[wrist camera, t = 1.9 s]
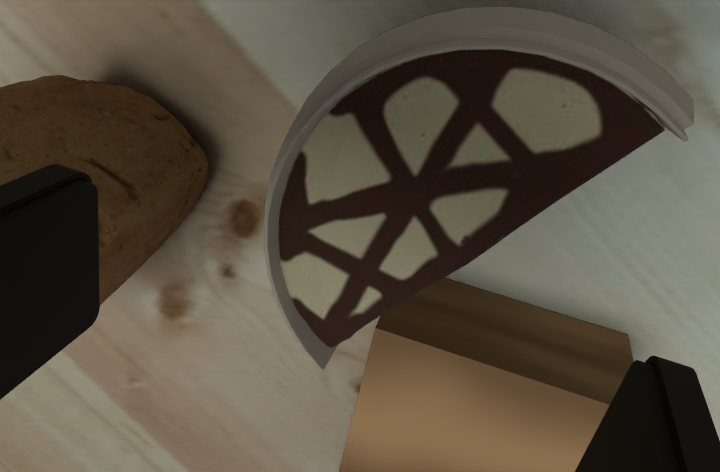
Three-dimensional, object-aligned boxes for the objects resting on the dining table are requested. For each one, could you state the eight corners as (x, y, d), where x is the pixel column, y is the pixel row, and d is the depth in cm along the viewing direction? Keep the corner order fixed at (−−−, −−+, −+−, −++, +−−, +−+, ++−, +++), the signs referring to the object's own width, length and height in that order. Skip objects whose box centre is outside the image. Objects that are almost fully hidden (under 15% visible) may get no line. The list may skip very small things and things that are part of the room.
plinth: (402, 265, 27) (375, 327, 23) (628, 335, 25) (644, 416, 21) (347, 471, 34) (318, 550, 29) (523, 536, 32) (519, 629, 28)
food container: (533, -102, 20) (523, -132, 11) (644, 45, 21) (714, 123, 12) (291, 130, 26) (161, 228, 17) (386, 235, 27) (309, 379, 18)
